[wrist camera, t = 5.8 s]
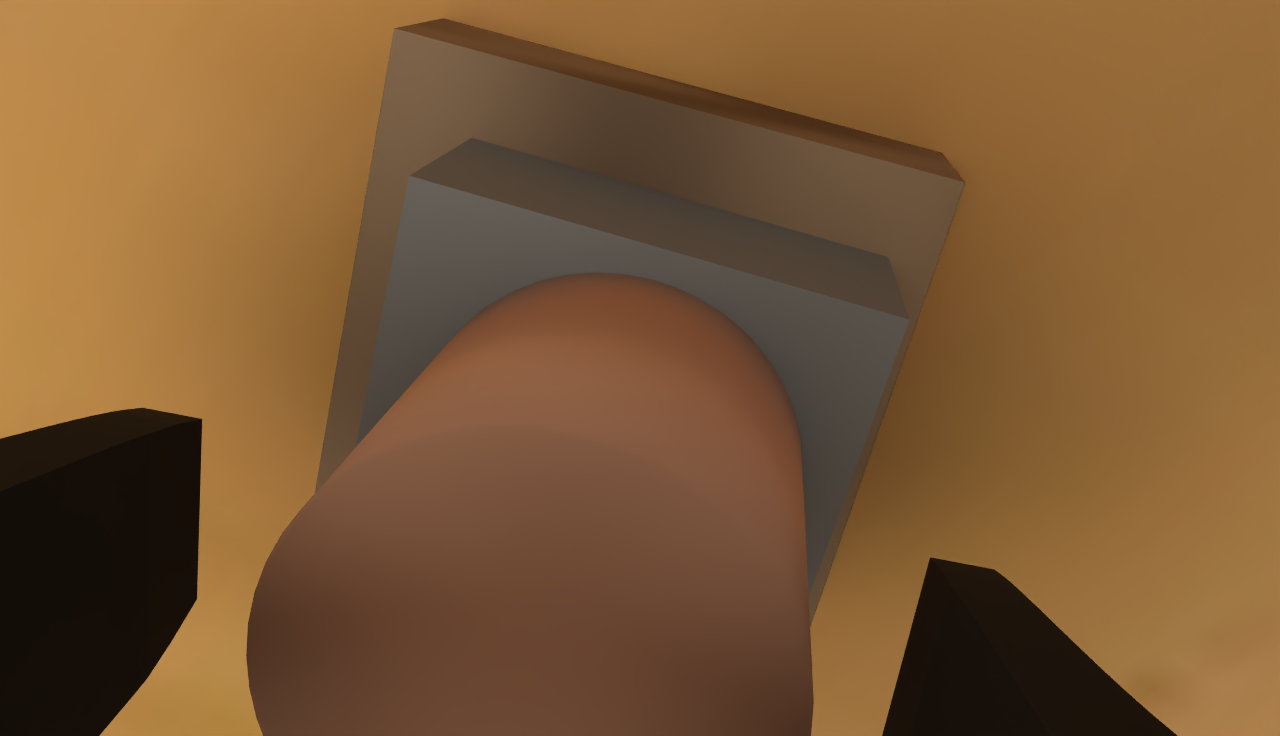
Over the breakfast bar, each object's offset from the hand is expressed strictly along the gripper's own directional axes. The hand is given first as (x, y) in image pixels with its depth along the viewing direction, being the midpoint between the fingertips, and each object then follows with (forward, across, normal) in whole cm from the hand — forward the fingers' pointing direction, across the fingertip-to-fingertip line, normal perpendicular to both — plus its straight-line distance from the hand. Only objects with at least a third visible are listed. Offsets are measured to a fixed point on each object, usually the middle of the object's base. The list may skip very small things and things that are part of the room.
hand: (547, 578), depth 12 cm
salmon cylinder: (+3, 0, 0) cm, 3 cm away
